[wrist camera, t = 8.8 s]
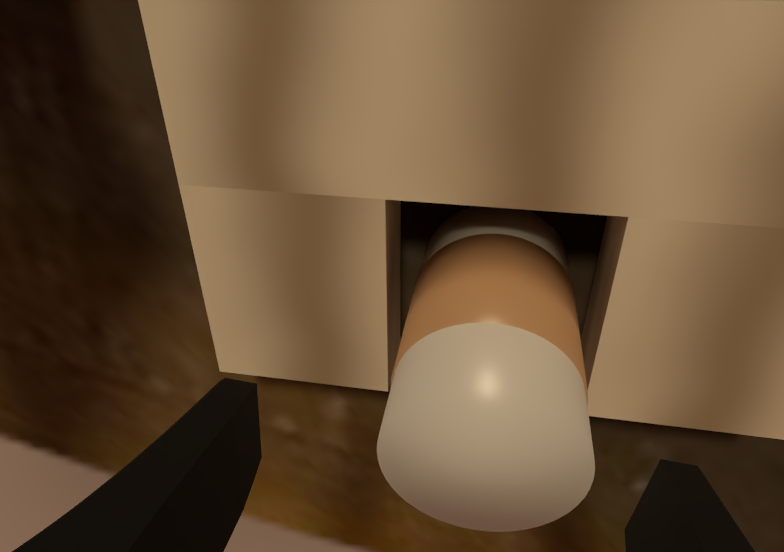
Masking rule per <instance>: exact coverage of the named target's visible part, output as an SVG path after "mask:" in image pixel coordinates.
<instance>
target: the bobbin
mask: <svg viewBox="0 0 784 552" xmlns="http://www.w3.org/2000/svg"><path fill="white" fill-rule="evenodd" d="M587 405H588V390H587V383H586V376H585V368H584V361H583V354H582V346H581V339H580V332H579V325H578V317H577V310H576V303H575V296H574V290H573V286H572V283H571V279H570V272H569V264H568V257H567V253H566V249H565V246H564V244H563V241H562V239H561V238H560V236H559V234H558V233H557V232H556V230H555V229H554V228H553V227H552V226H551V225H550V224H549V223H548V222H547V221H546V220H544V219H543V218H542V217H540V216H539V215H537V214H535V213H533V212H531V211H529V210H524V209H510V208H496V207H482V206H471V207H469V208H466V209H463V210H461V211H459V212H457V213H455V214H453V215H452V216H450V217H449V218H447V219H446V220H445V221H444V222H443V223H442V224H440V225H439V227H438V228H437V229H436V230H435V231H434V233H433V234H432V236H431V238H430V240H429V242H428V244H427V247H426V251H425V255H424V259H423V263H422V267H421V271H420V273H419V275H418V277H417V280H416V284H415V287H414V291H413V295H412V299H411V303H410V307H409V311H408V315H407V319H406V323H405V326H404V330H403V334H402V338H401V342H400V346H399V350H398V354H397V358H396V361H395V365H394V369H393V373H392V377H391V389H390V393H389V397H388V401H387V405H386V409H385V413H384V417H383V421H382V425H381V429H380V433H379V437H378V441H377V457H378V462H379V465H380V468H381V471H382V473H383V475H384V477H385V478H386V480H387V481H388V483H389V484H390V486H391V487H392V488H393V489H394V490H395V491H396V492H397V494H398V495H400V496H401V497H402V498H403V499H404V500H405V501H406V502H408V503H409V504H411V505H412V506H413V507H415V508H416V509H418V510H420V511H421V512H423V513H425V514H427V515H429V516H431V517H433V518H435V519H438V520H440V521H443V522H446V523H448V524H452V525H455V526H459V527H463V528H468V529H473V530H481V531H496V532H504V531H517V530H525V529H530V528H534V527H538V526H541V525H544V524H547V523H550V522H552V521H554V520H557V519H559V518H561V517H562V516H564V515H566V514H567V513H569V512H570V511H571V510H573V509H574V508H575V507H576V506H577V505H578V504H579V503H580V502H581V501H582V500H583V499H584V498H585V496H586V495H587V493H588V491H589V490H590V487H591V485H592V482H593V479H594V473H595V460H594V452H593V445H592V437H591V430H590V422H589V415H588V407H587Z"/></svg>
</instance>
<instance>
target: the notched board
mask: <svg viewBox="0 0 784 552" xmlns="http://www.w3.org/2000/svg"><path fill="white" fill-rule="evenodd" d="M138 2H139V7H140V11H141V16H142V20H143V25H144V29H145V34H146V38H147V43H148V47H149V52H150V57H151V61H152V66H153V70H154V75H155V79H156V84H157V88H158V93H159V97H160V102H161V106H162V111H163V115H164V120H165V124H166V129H167V134H168V138H169V143H170V147H171V152H172V156H173V161H174V165H175V170H176V174H177V179H178V183H179V188H180V192H181V197H182V201H183V206H184V211H185V215H186V220H187V224H188V229H189V233H190V238H191V242H192V247H193V251H194V256H195V260H196V265H197V269H198V274H199V278H200V283H201V288H202V292H203V297H204V301H205V306H206V310H207V315H208V319H209V324H210V328H211V333H212V337H213V342H214V346H215V351H216V356H217V360H218V365H219V369H220V371H222V372H230V373H238V374H246V375H255V376H263V377H271V378H280V379H288V380H296V381H304V382H313V383H321V384H329V385H337V386H346V387H354V388H362V389H370V390H379V391H387V392H388V390H389V386H390V382H391V377H392V373H393V369H394V365H395V361H396V358H397V354H398V350H399V346H400V265H401V201H413V202H426V203H440V204H454V205H468V206H482V207H496V208H510V209H524V210H538V211H551V212H565V213H579V214H593V215H607V218H606V223H605V227H604V232H603V237H602V241H601V246H600V251H599V255H598V260H597V265H596V270H595V274H594V279H593V284H592V288H591V293H590V298H589V302H588V307H587V312H586V316H585V321H584V326H583V330H582V335H581V346H582V354H583V361H584V368H585V376H586V383H587V390H588V405H587V407H588V415H589V416H593V417H602V418H610V419H618V420H626V421H635V422H643V423H651V424H659V425H668V426H676V427H684V428H692V429H701V430H709V431H717V432H725V433H734V434H742V435H750V436H758V437H767V438H775V439H783V440H784V0H138Z"/></svg>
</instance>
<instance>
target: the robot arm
mask: <svg viewBox="0 0 784 552" xmlns="http://www.w3.org/2000/svg"><path fill="white" fill-rule="evenodd" d="M260 460H261V442H260V427H259V412H258V397H257V384H255V383H250V382H244V381H239V380H233V379H228V378H224V379H223V380H221V381H220V382H218V383H217V384H216V385H215V386H214V387H213V388H212V389H211V390H210V391H209V392H208V393H207V394H206V395H205V396H204V397H203V398H202V399H200V400H199V401H198V402H197V403H196V404H195V405H194V406H193V407H192V408H191V409H190V410H189V411H188V412H187V413H186V414H184V415H183V416H182V417H181V418H180V419H179V420H178V421H177V422H176V423H175V424H174V425H172V426H171V427H170V428H169V429H168V430H167V431H166V432H165V433H164V434H162V435H161V436H160V437H159V438H158V439H157V440H156V441H154V442H153V443H152V444H151V445H150V446H149V447H147V448H146V449H145V450H144V451H143V452H142V453H141V454H139V455H138V456H137V457H136V458H135V459H134V460H133V461H131V462H130V463H129V464H128V465H127V466H125V467H124V468H123V469H122V470H121V471H119V472H118V473H117V474H116V475H114V476H113V477H112V478H111V479H109V480H108V481H107V482H106V483H104V484H103V485H102V486H101V487H99V488H98V489H97V490H96V491H94V492H93V493H92V494H91V495H90V496H88V497H87V498H86V499H84V500H83V501H82V502H81V503H79V504H78V505H77V506H75V507H74V508H73V509H71V510H70V511H69V512H67V513H66V514H65V515H63V516H62V517H61V518H59V519H58V520H57V521H55V522H54V523H52V524H51V525H50V526H48V527H47V528H45V529H44V530H43V531H41V532H40V533H38V534H37V535H36V536H34V537H33V538H31V539H30V540H28V541H27V542H25V543H24V544H23V545H21V546H20V547H18V548H17V549H15V550H14V551H12V552H223V551H224V549H225V547H226V545H227V543H228V541H229V539H230V537H231V535H232V532H233V530H234V528H235V526H236V524H237V522H238V520H239V518H240V516H241V513H242V511H243V509H244V506H245V503H246V501H247V498H248V495H249V492H250V490H251V487H252V484H253V481H254V478H255V475H256V472H257V469H258V466H259V463H260ZM625 542H626V552H755V551H754V549H753V548H752V546H751V545H750V543H749V542H748V540H747V539H746V537H745V536H744V534H743V533H742V532H741V530H740V529H739V527H738V526H737V524H736V523H735V521H734V520H733V518H732V517H731V515H730V514H729V512H728V511H727V509H726V508H725V506H724V505H723V503H722V502H721V500H720V499H719V497H718V496H717V494H716V493H715V491H714V490H713V488H712V487H711V485H710V484H709V482H708V481H707V479H706V478H705V476H704V475H703V473H702V472H701V470H700V469H699V467H698V466H694V465H689V464H684V463H678V462H673V461H668V460H662V459H661V460H660V462H659V464H658V466H657V468H656V470H655V471H654V473H653V475H652V477H651V479H650V481H649V483H648V485H647V487H646V489H645V491H644V493H643V495H642V497H641V499H640V501H639V503H638V505H637V507H636V509H635V511H634V513H633V515H632V517H631V519H630V520H629V522H628V524H627V526H626V528H625Z"/></svg>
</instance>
